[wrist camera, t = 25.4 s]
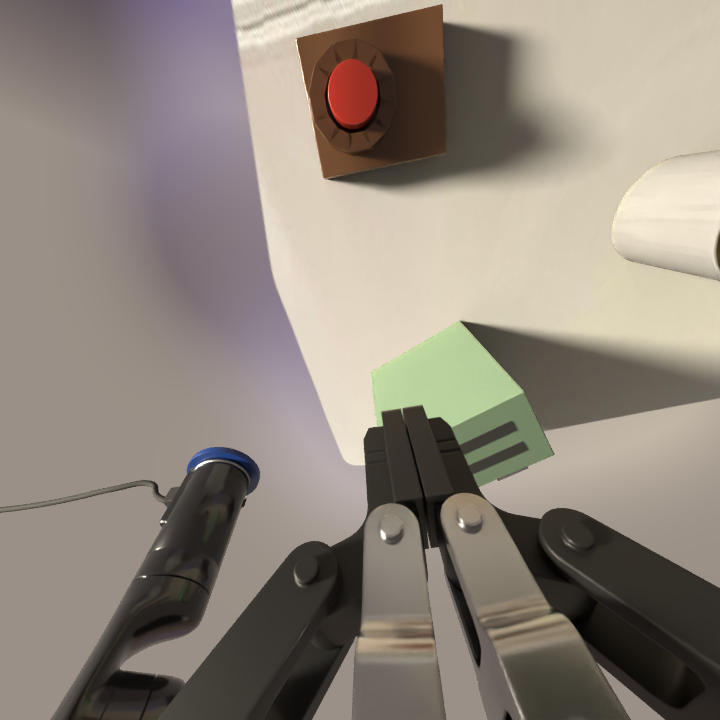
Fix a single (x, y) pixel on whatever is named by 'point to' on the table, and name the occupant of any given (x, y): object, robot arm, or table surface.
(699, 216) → the coffee mug
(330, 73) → the switch block
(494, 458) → the toaster
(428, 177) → the table surface
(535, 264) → the table surface
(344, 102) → the power button
